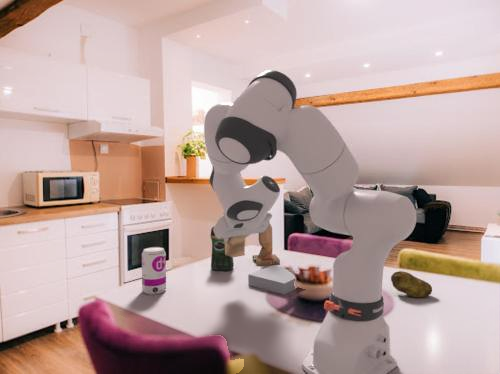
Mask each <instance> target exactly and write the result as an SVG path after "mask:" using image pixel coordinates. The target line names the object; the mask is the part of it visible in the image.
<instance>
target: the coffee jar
mask: <svg viewBox="0 0 500 374" xmlns="http://www.w3.org/2000/svg"><path fill="white" fill-rule="evenodd" d="M214 227H215V225H214V226H213V227H211V228H210V229H211V230H210V236H209V237H210V239H211V258H210V259H211V260H210V269H211V270H212V271H219V272H220V271H221V272H222V271H224V272H225V271H230V270H233V269H234V266H235V265H234V263H235V262H234V257H230V256H227V255H225V241H224V238H220V239H218V238H217V237H216V236H215V234H214V231H213V229H214Z"/></svg>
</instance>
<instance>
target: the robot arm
mask: <svg viewBox="0 0 500 374" xmlns="http://www.w3.org/2000/svg"><path fill="white" fill-rule="evenodd" d="M297 95H298V94H297V88H296V85H295V83H294V82H293V81H292V80H291V78H290V77H289V76H287V75H286V74H284V73H282V72H280V71H278V70H270V69H269V70H265V71H263V72H261V73H260V74H258V75H257V76H255V77H253V79H252V80H251V81H250V82H249V84H248V85H247V87H246V89H245V90H244V91H242V93H240V95H239V96H238V97H236V99H235V100H234V102H233V103H231V102H221V103H217V104H215V105H214V106H212V107H211V108H209V110H208V111H207V112H206V114H205V116H204V123H203V134H204V136H203V137H204V144H205V148H206V153H207V156H208V158H209V161H210V163H211V165H212V168H211V174H210V176H209V184H210V186H211V188H212V189H213V191H214V193H215V195H216V197H217V198H218V202H220V205H221V206H222V209H223V210H224V211H223V213H222V214H223V215H222V216H221V217H220V218H219V219H218V220H217V222H216V223H215V225H214V226H215V227H214V226H213V227H214V229H213V231H214V234H215V236H216V237H217V238H218V239H220V238H224V241H225V243H226V242H230V240H231V239H230V237H234V236H241V235H245V239H246V238H247V237H249V236H251V235H256V234H259V233H262V232H264V231H265V230H266V228H267V227H268V225H269V223H270V220H271V219H272V217H273V214H272V213H270V211H271V210H272V208H273V207H274V206H275V204H276V202H277V200H278V199H279V196H280V193H281V189H280V186H279V184H278V183H277V181H276V180H275V179H273V178H272V177H270V176H269V175H261V176H260V177H259V178H258V179H257V180H256V182H255V183H253V184H251V185H249V186H248V185H247V183H246V182H245V179H244V178H243V176H242V174H241V172H242V171H244V170H245V169H246V168H247V167H248V166H249V165H255V164H258V163H260V162H262V161H271V160H273V159H274V158H275V157H276V155H277V153H278V151H279V152H280V153H283V154H284V155H286V157H287V158H288V159H289V160H290V161H291V163H292V164H293V166H294V167H295V168H296V170H297V172H298V173H299V174H300V176H301V177H302V179H303V180H304V181H305V182H306V183H305V184H307V186H308V187H309V189H310V190H311V191H312V194H313V196H312V198H311V200H310V203H309V207H308V208H309V209H308V212H309V217H310V219H311V221H312V223H313V224H314V225H315V226H317V227H319V228H321V229H323V230H326V231H328V232H331V233H334V234H340V235H346V236H352V243H351V247H350V249H349V250H346V251H343V252H341V253H340V254H338V255H337V256H336V258H335V259H334V261H333V262H332V263H333V264H332V290H331V293H330V296H329V300H325V301H324V304H323V305H324V306H323V309H324V310H326V311H327V313H326V315H325V316H324V319H323V320H322V323H321V324H320V327H319V329H318V331H317V333H316V335H315V338H314V341H313V346H311V349H310V351H309V352H308V354H307V355H306V357H305V358H304V359H303V361H302V363H301V368H302V369H303V370H304V371H305V372H306V374H388V373H390V372H391V371H392V370H394V369H395V368H396V367H397V366H398V361H397V359H396V358H395V357H393V355H391V333H390V330H391V329H390V326H389V325H388V323H387V322H386V320H385V318H384V316H383V314H384V308H385V302H384V296H383V295H382V290H383V289H382V288H383V276H384V268H385V263H386V260H387V257H388V256H389V254H390V252H391V251H392V249H394V247H395V246H397V245H398V244H399V243H401V242H403V241H404V240H406V239H407V238H408V237H409V236H410V235H411V234H412V233H413V231H414V229H415V227H416V224H417V211H416V208H415V205H414V203H413V202H412V201H411V199H410V198H409V197H408V196H405V195H401V194H399V193H395V192H391V191H387V190H373V189H361V188H356V187H354V186H355V185H356V183H357V181H358V179H359V176H360V168H359V163H358V162H357V161H356V158H354V157H355V156H353V154H352V152H351V151H350V149H349V147H348V146H347V143H346V142H345V140H344V139H343V137H342V136H341V134H340V132H339V131H338V129H337V128H336V127H335V126H334V125H333V123H332V122H331V121H330V120H329V118H328V117H327V116H326V115H325V114H324V113H323V112H322V111H321V110H320V109H318V107H316V106H315V105H310V104H309V105H308V104H305V105H304V104H303V105H298V106H297V107H295V105H296V101H297ZM270 224H271V223H270Z"/></svg>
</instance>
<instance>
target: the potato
mask: <svg viewBox="0 0 500 374" xmlns="http://www.w3.org/2000/svg"><path fill="white" fill-rule="evenodd" d="M390 281H391V283H392V286H393V288H395V290H397V291H398V292H401V293H403V294H405V295H407V296H409V297H413V298H425V297H429V296H430V295H431V294H432V293H433V287H432V286H431V284H430V283H428V282H427V281H425V280H423V279H421V278H419V277H416V276H414V275H412V274H411V273H410V272H407V271H401V270H399V271H395V272H393V274H392V275H391V276H390Z"/></svg>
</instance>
